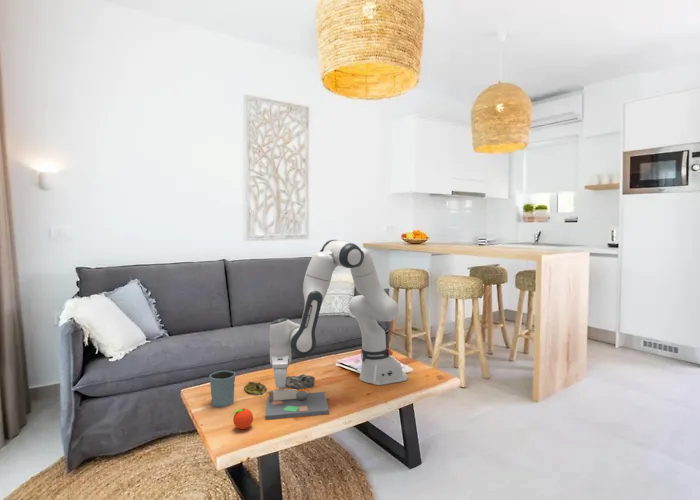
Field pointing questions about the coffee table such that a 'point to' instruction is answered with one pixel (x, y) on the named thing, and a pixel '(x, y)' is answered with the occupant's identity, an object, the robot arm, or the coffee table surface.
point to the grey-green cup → (222, 388)
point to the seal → (255, 388)
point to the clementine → (242, 418)
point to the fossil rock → (299, 382)
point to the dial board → (297, 407)
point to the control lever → (287, 395)
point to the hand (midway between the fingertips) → (281, 390)
